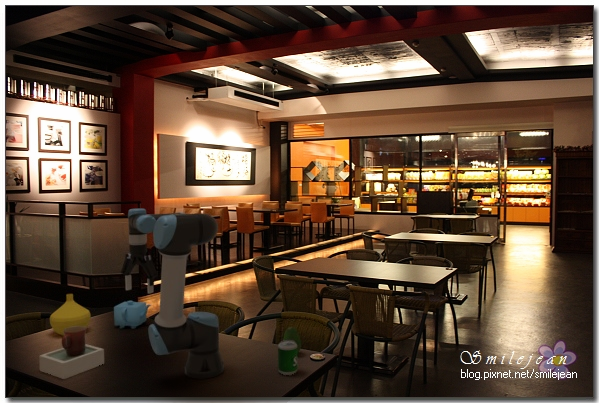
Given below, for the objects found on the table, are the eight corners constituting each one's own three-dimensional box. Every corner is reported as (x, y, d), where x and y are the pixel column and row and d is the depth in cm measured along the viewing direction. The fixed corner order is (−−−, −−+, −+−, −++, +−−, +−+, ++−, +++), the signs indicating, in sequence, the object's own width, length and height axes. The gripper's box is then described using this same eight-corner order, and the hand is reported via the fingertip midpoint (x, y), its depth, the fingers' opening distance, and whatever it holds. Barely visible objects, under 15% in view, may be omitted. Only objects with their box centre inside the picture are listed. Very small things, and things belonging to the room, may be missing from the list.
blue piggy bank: (111, 330, 251) (111, 304, 251) (127, 320, 267) (126, 296, 266) (145, 331, 248) (144, 305, 248) (159, 322, 264) (158, 298, 263)
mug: (73, 349, 209) (72, 325, 209) (91, 350, 208) (91, 326, 207) (53, 359, 198) (52, 334, 197) (73, 361, 196) (72, 335, 195)
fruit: (285, 350, 220) (284, 324, 219) (302, 352, 218) (302, 325, 218) (280, 357, 212) (280, 329, 212) (299, 358, 211) (298, 330, 210)
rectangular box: (104, 363, 207) (103, 349, 206) (63, 379, 191) (63, 363, 191) (80, 356, 215) (79, 342, 215) (39, 370, 200) (39, 355, 199)
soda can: (290, 377, 191) (290, 347, 190) (274, 373, 195) (274, 343, 194) (301, 371, 197) (300, 341, 197) (285, 367, 201) (284, 338, 201)
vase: (58, 327, 255) (57, 290, 254) (95, 326, 257) (94, 289, 256) (44, 339, 237) (42, 300, 236) (84, 338, 239) (83, 298, 238)
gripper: (165, 244, 218) (166, 292, 219) (125, 241, 230) (126, 286, 231) (152, 246, 211) (153, 296, 212) (111, 243, 223) (113, 290, 225)
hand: (139, 291), depth 222 cm, fingers open, 13 cm apart
